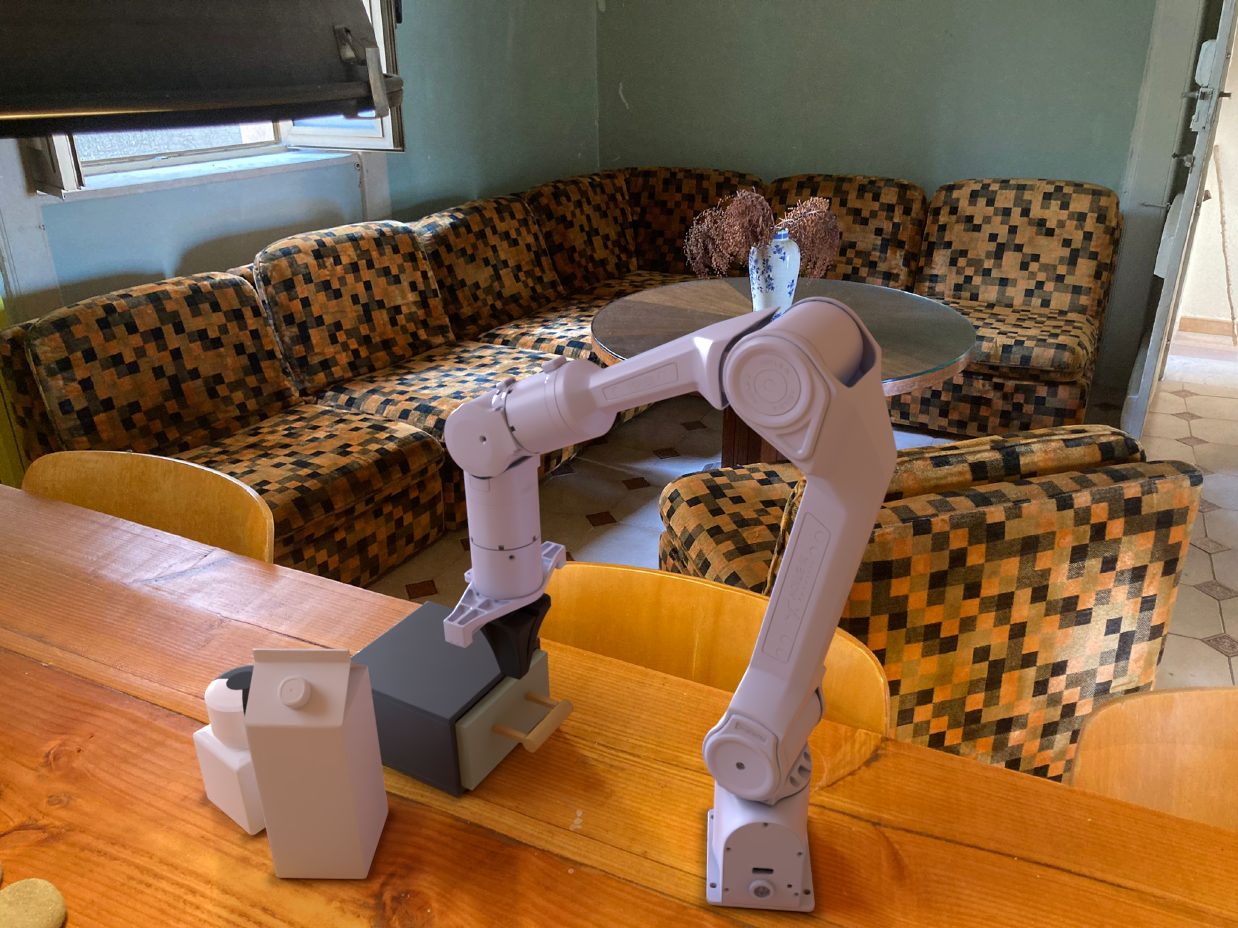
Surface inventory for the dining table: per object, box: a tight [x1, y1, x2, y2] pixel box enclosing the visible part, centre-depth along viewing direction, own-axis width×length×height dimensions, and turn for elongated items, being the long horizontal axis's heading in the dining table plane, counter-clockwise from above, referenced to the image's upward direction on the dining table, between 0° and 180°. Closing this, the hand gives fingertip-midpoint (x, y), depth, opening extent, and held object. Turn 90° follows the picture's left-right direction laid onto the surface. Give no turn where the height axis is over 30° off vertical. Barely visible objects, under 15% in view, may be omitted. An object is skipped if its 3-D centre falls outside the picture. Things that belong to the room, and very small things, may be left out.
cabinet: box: [350, 600, 542, 798], centre depth 89 cm, size 13×13×8 cm
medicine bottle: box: [192, 664, 266, 836], centre depth 81 cm, size 7×7×12 cm
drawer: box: [455, 649, 575, 791], centre depth 88 cm, size 17×12×7 cm
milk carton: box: [244, 647, 389, 880], centre depth 74 cm, size 7×7×19 cm
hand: (514, 672), depth 83 cm, fingers closed
